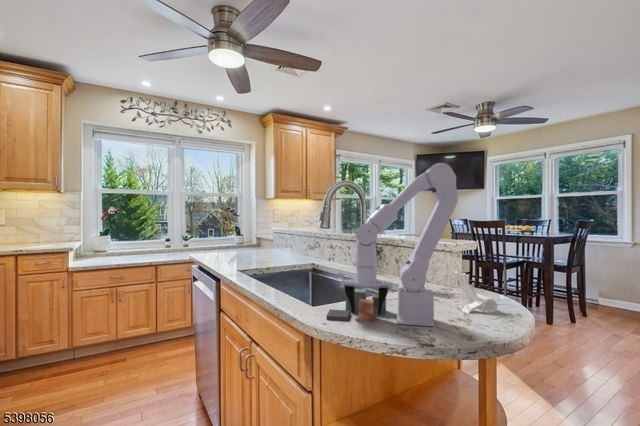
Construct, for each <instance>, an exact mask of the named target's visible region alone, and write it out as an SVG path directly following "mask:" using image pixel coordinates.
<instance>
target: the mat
mask: <svg viewBox="0 0 640 426" xmlns="http://www.w3.org/2000/svg"><path fill="white" fill-rule="evenodd" d="M350 315H351V311H348V310H346V309H345V310H343V309H331V308H330V309H329V310H328V312H327V313H326V320H331V321H342V322H343V321H344V322H345V321H346V322H348V321H349V317H350Z"/></svg>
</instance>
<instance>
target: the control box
mask: <svg viewBox="0 0 640 426" xmlns="http://www.w3.org/2000/svg"><path fill="white" fill-rule="evenodd" d="M360 299H367V288H355V313H359V300H360ZM345 310H348V311H350V312H352V310H351V305H350V302H349V300H348V297H347V295H346V294H345Z"/></svg>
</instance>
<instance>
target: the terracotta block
mask: <svg viewBox="0 0 640 426" xmlns="http://www.w3.org/2000/svg"><path fill="white" fill-rule="evenodd" d="M374 315H375V314H374V300H372V299H367V298H366V299H360V300H359V312H358V321H362V322H374V318H375V316H374Z"/></svg>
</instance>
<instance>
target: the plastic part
mask: <svg viewBox="0 0 640 426" xmlns="http://www.w3.org/2000/svg"><path fill="white" fill-rule="evenodd" d="M454 275H455V277H456V279H457V281H458V283H459V284H460V286H461V288H462V289H463V292H464V293H465V295H466V298H467V299H468V301H469V304H465V305H464V306H463V307H462V311H461V312H463V313H465V314H468V315H469V314H470V313H472V311H474V310H476V309H478V310H481V311H483V312H486V313H488V314H491V313H495V312H496V311H497V309H498V303H497V300H496V299H493V298H491V297H488V296H486V295H484V294H481V293H478V292H477V291H475V290H476V289H474V286H473V285H472V284H470V283H469V282H470V280H469V278H468V276H467V274H466V273H465V272H464V273H459V272H458V270H455V271H454Z"/></svg>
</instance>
